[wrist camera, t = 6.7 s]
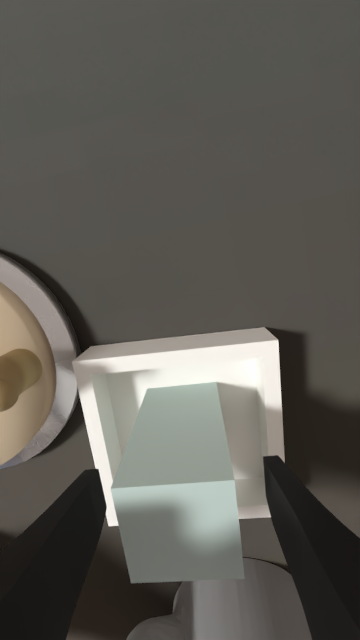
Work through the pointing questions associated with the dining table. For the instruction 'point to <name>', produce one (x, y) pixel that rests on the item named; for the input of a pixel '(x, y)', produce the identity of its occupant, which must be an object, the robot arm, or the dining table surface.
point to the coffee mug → (233, 609)
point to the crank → (22, 375)
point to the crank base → (61, 345)
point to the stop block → (178, 490)
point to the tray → (183, 369)
